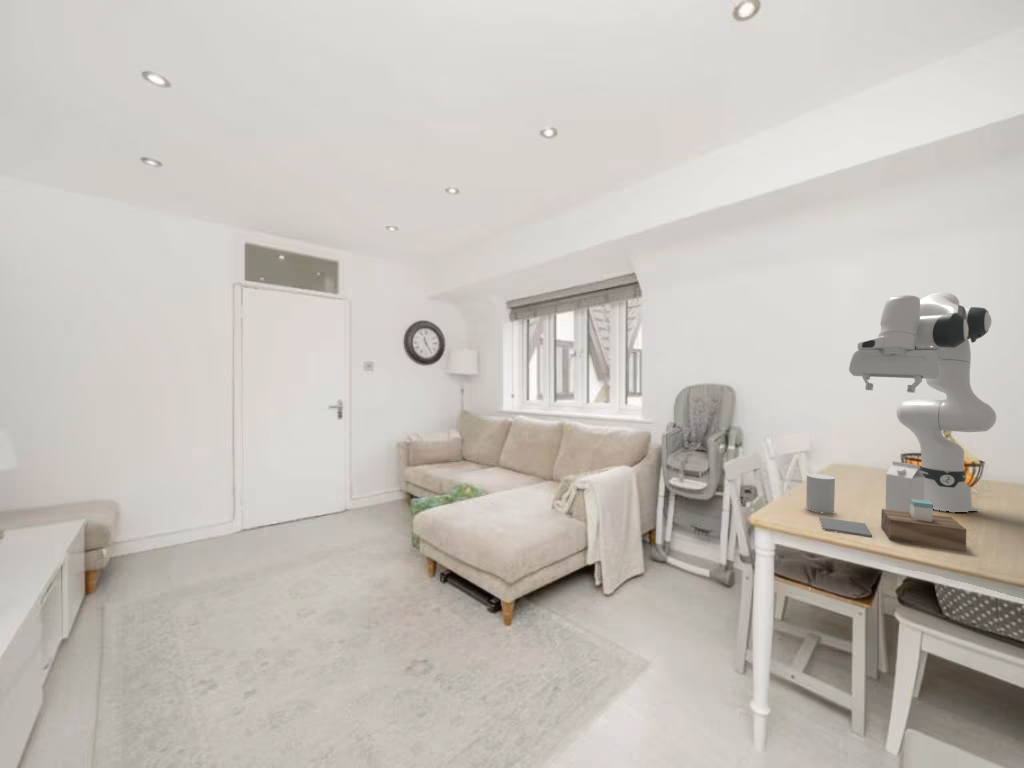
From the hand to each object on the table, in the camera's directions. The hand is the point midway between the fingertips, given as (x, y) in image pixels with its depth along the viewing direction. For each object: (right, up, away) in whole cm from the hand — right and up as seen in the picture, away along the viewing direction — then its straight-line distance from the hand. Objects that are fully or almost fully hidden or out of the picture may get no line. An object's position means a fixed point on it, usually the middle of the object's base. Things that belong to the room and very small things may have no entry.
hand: (889, 390), depth 128 cm
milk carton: (+20, -43, +18) cm, 51 cm away
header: (+10, -44, +1) cm, 45 cm away
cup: (0, -43, +29) cm, 52 cm away
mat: (-5, -43, +11) cm, 45 cm away
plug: (+10, -44, +1) cm, 45 cm away
